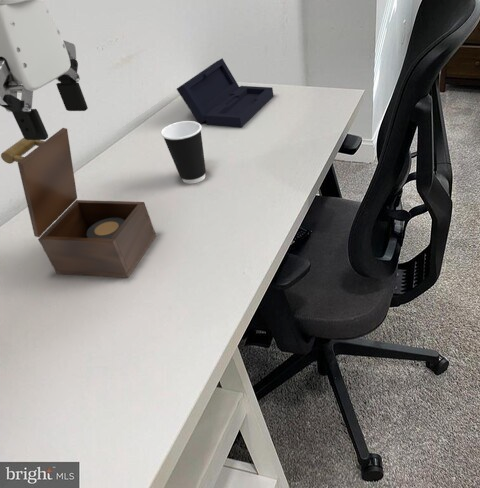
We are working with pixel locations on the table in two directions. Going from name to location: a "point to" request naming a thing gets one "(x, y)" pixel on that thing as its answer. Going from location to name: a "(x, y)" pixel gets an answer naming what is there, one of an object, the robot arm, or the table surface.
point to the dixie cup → (186, 149)
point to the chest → (98, 239)
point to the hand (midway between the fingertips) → (58, 123)
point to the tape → (105, 228)
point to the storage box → (222, 97)
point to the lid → (45, 177)
